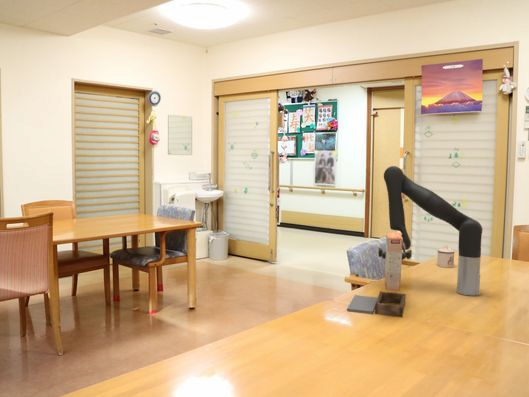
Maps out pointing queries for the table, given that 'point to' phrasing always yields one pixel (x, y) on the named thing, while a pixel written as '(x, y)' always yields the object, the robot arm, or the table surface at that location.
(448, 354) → the table surface
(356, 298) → the flat gray rectangular board
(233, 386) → the table surface
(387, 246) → the cracker box
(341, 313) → the table surface
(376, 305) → the walnut collar
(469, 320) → the table surface
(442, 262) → the teacup with lid
